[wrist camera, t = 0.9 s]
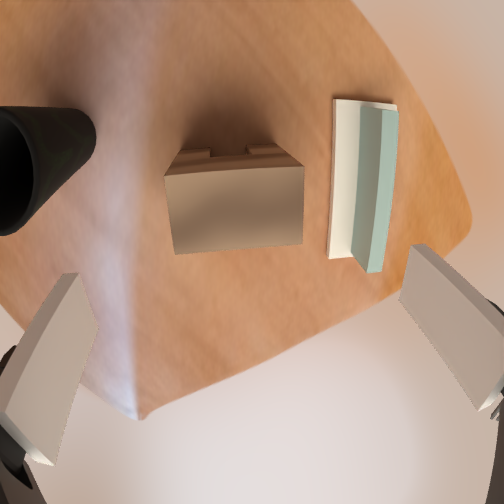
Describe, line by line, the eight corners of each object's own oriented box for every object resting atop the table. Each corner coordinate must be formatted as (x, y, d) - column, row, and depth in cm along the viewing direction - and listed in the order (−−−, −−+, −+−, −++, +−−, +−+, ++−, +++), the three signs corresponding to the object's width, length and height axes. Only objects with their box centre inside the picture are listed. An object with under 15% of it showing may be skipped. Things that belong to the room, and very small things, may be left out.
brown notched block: (180, 150, 25) (163, 176, 17) (276, 143, 26) (304, 166, 18) (185, 206, 27) (174, 254, 20) (276, 199, 28) (302, 244, 20)
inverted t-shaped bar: (332, 98, 24) (355, 100, 20) (392, 104, 25) (421, 108, 21) (326, 255, 31) (343, 280, 27) (379, 250, 32) (400, 273, 28)
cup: (71, 79, 21) (-13, 79, 10) (124, 138, 24) (63, 171, 13) (21, 142, 22) (-64, 179, 12) (70, 197, 26) (1, 260, 15)
